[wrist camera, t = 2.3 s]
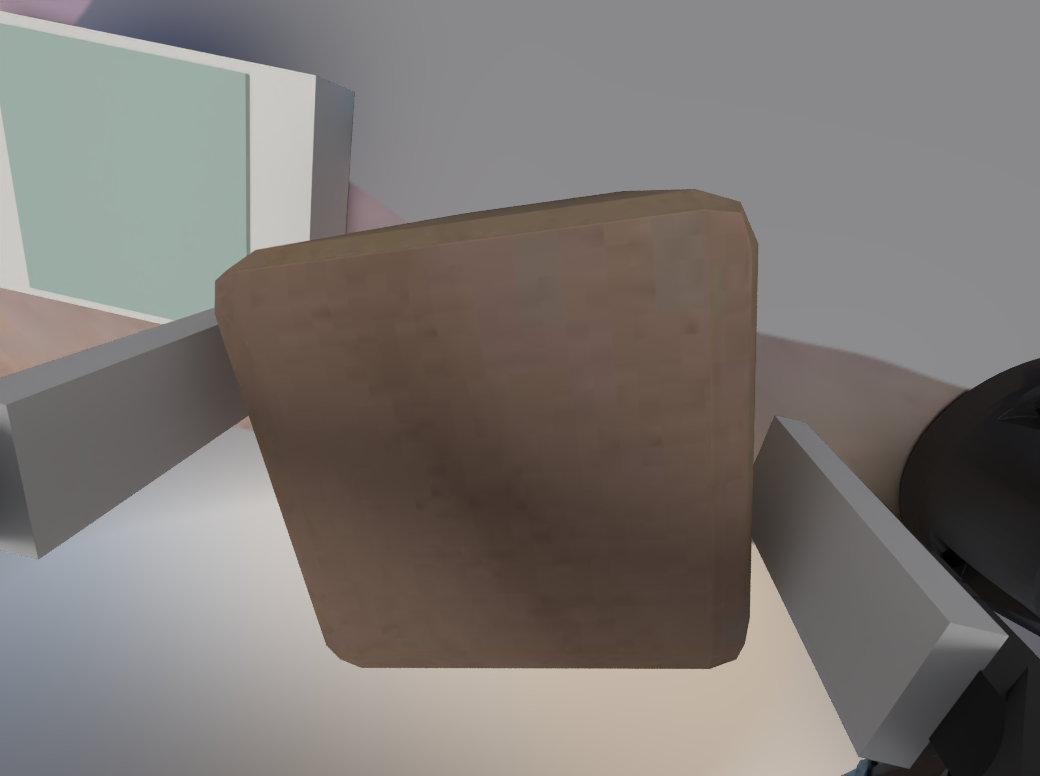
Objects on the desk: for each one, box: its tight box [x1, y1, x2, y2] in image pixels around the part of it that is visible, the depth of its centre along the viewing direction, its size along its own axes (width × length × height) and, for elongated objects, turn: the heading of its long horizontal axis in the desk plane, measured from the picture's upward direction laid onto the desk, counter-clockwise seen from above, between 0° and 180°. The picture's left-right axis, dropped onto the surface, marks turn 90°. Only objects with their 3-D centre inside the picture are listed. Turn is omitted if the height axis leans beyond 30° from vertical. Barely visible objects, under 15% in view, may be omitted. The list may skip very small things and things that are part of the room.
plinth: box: [0, 11, 355, 324], centre depth 27 cm, size 18×13×4 cm
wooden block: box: [214, 189, 758, 669], centre depth 19 cm, size 10×10×20 cm
